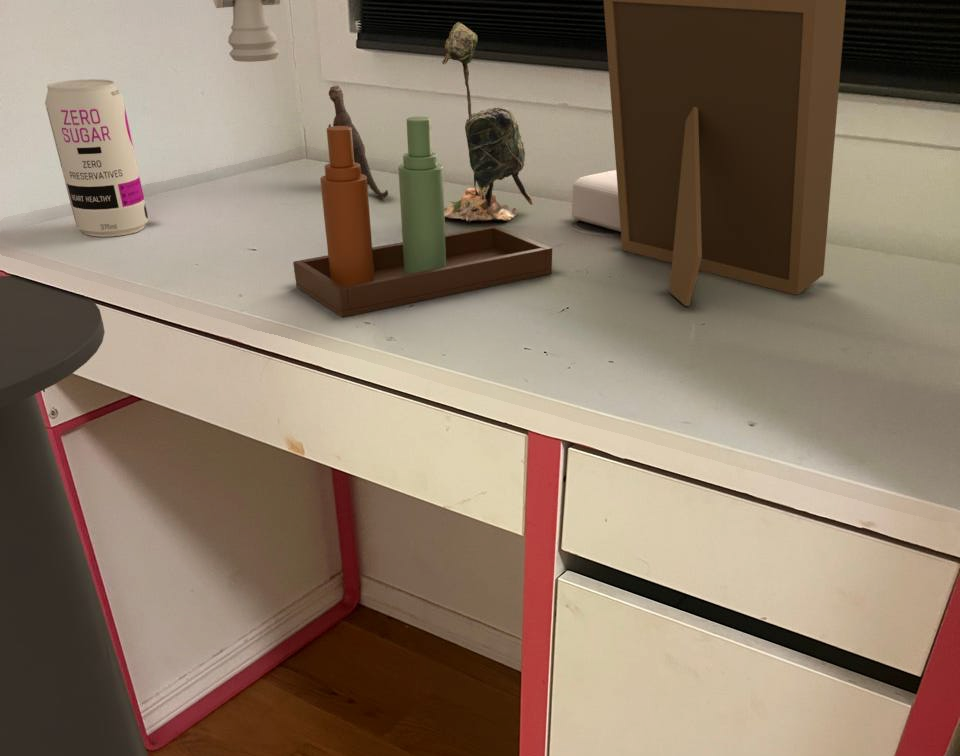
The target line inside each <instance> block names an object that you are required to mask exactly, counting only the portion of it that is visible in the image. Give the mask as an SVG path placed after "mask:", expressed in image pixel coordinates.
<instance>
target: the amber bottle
mask: <svg viewBox="0 0 960 756" xmlns="http://www.w3.org/2000/svg"><path fill="white" fill-rule="evenodd" d="M326 139H327V149H328V159H329V163H326V164H325V165H324V175H322V176H321V177H320V179H319V180H320V181H319V182H320V189H321V201H322V210H323V218H324V230H325V239H326V247H327V255H328V258H329V268H330V277H331V279H332V280H334V281H335V282H337V283H339V284H340V285H342V286H348V285H353V284H358V283H364V282H369V281H374V280H375V278H374V265H373V252H372V247H373V241H372V229H371V227H372V226H371V215H370V203H369V202H370V201H369V190H368V188H369V187H368V184H367V177H366V175H363V174H361V168H360V164H359V163H355V162H354V151H353V139H352V128H351V127H349V126H333V125H331V127H328V126H327V128H326Z"/></svg>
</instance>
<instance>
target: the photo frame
mask: <svg viewBox="0 0 960 756" xmlns="http://www.w3.org/2000/svg"><path fill="white" fill-rule="evenodd" d="M846 6H847V0H603V10H604V11H603V12H604V23H605V24H604V25H605V36H606V37H605V38H606V51H607V63H608V76H609V77H608V78H609V91H610V105H611V117H612V128H613V129H612V130H613V131H612V132H613V144H614V146H613V147H614V159H615V170H616V172H617V186H618V199H619V212H620V226H621V232H620V240H621V250H622V251H623V252H627V253H633V254H636V255H640V256H643V257H648V258H652V259H655V260H659V261H663V262H667V263H670V264H671V270H670V271H671V272H670V282H669V293H670V294H671V295H672V296H673V297H674V298H676V299H677V300H678V301H679V302H680V303H681V304H683V305H684V306H685V307H687V306H688V307H690V306H691V303H692V297H693V295H694V289H695V285H696V282H697V278H698V274H699V271H702V272H706V273H710V274H714V275H717V276H721V277H724V278H725V277H726V278H729V279H733V280H738V281H741V282H744V283H749V284H753V285H756V286H760V287H765V288H768V289H772V290H775V291H780V292H783V293H787V294H790V295H794V296H799V295H800V294H801V293H802V292H804V291H805V290H806V289H807V288H809V287H810V286H811V285H812V284H814V283H815V282H816V281H818V280H819V279H820V278H821V277H823V276H824V273H825V261H826V251H827V250H826V249H827V236H828V225H829V213H830V212H829V211H830V199H831V188H832V177H833V176H832V175H833V165H834V151H835V139H836V128H837V115H838V105H839V103H838V102H839V92H840V91H839V89H840V79H841V66H842V53H843V43H844V30H845V29H844V28H845V17H846Z"/></svg>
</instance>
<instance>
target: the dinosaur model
mask: <svg viewBox="0 0 960 756" xmlns="http://www.w3.org/2000/svg"><path fill="white" fill-rule="evenodd" d="M328 96H329V99H330V100H331V101H332V102H333V106H334V111H335V116H334V118H333V122H332V124H331V123H329V124H328V126H327V128H328V127H332V126H349V127H351V128H352V139H353V151H354V162H355V163H359V164H360V168H361V174H363V175H366V177H367V186H369V188H370V189H371V191H372V192H373V193H374V194H375V195H376V196H378V197H379V198H380V199H385V198H387V196H388V195H389V191H388V190H387V189H386V190H385V191H384V192H382V191H381V190H380V189H379V187H378V186H377V183H376V181H375V180H374V177H373V175H372V172H371V169H370V167H369V163H368V160H367V157H366V147H365V144H364V142H363V140H362V137H361V135H360V132H359V131H358V130H357V128H356V126H355V125H354V124H353V121H352V118H351V116H350V114H349V113H348V112H347V110H346V105H345V101H344V92H343V89H342V88H341V86H339V85H333V86H330V88H329V90H328Z"/></svg>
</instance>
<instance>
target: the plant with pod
mask: <svg viewBox="0 0 960 756" xmlns="http://www.w3.org/2000/svg"><path fill="white" fill-rule="evenodd" d="M478 40H479V38H478V35H477V34H476V32H473V30H471V29H470V28H468V27H467V26H465V24H463V23H462V22H459V21H458V22H456V23H455V24H454V25H453V26H452V28H451V31H450V32H449V36H448V38H447V39H446V41H445V44H444V51H445V52H446V53H445V55H444V59H443V60H442V62H441V64H442V65H446V64H447V63H448V62H449V60H452V61H456V62H457V61H458V62H460V63H461V64H462V69H463V77H464V85H465V87H466V100H467V113H468V118H467V119H466V121H465V124H464V131H465V137H466V144H467V148H468V157H469V158H468V159H469V165H470V168H471V170H472V172H473V186H474V188H471V187H467V188H466V190H465V194H463V195H462V196H461V198H460V199H459V200H457V201H450V200H449V202H450V204H449V205H448V206H447V207H444V216H445V218H449V219H461V220H462V221H464V220H466V222H471V221H477V222H478V221H479V222H487V221H505V222H509V221H511V220H512V219H513V218H514V217H516V216H517V215H518V210H517V209H516V208H515V207H514V208H511V207H509V205H507V204H503V205H501V204H500V203H499V202H498V201H497V198H496V196H495V195H494V194H493V188H494V183H495V181H497V180H498V181H502V180H504V179H506V178H508V177H510V176H512V179H513V181H514V183H515V185H516V187H517V188H518V190H519V192H520V193H521V195H522V196H523V197H524V199H525V200H526V201H527V202H528V204H530V205H533V204H534V201H533V198H532V197H531V196H530V195H529V193H527V191H526V189H525V187H524V185H523V182H522V181H521V179H520V177H519V173H520V172H521V171H522V170H523V169H524V166H525V161H526V151H525V147H524V146H525V145H524V144H525V143H524V142H523V140H522V135H521V132H520V128H519V124H518V121H517V118H516V117H515V115H514V112H513V111H511V110H510V109H509V108H507V107H506V106H495V107H492V108H491V107H490V108H488V109H485V110H484V109H482V110H480V111H478V112H476V113H475V112H473V113H472V101H471V100H472V99H471V91H470V85H469V80H470V78H469V75H470V72H469V66H468V64H470V63H471V62H472V60H473V56H474V54H475V51H476V47H477V43H478ZM476 186H478V189H477V187H476Z"/></svg>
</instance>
